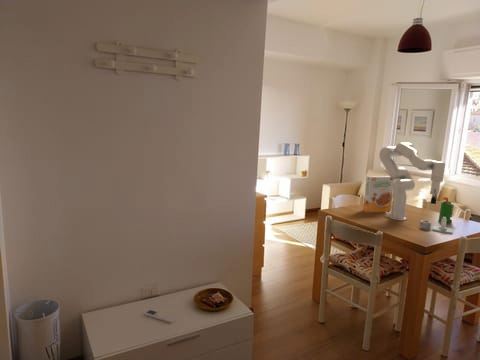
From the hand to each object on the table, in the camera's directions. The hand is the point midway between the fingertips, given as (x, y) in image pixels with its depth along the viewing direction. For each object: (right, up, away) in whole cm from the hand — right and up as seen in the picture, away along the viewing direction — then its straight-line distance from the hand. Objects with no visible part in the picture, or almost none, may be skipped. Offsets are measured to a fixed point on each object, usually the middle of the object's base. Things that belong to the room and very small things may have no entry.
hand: (433, 202), depth 246 cm
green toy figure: (+21, -17, +21) cm, 35 cm away
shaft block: (+6, -20, 0) cm, 21 cm away
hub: (-4, -19, +3) cm, 20 cm away
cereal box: (-21, -11, +49) cm, 55 cm away
